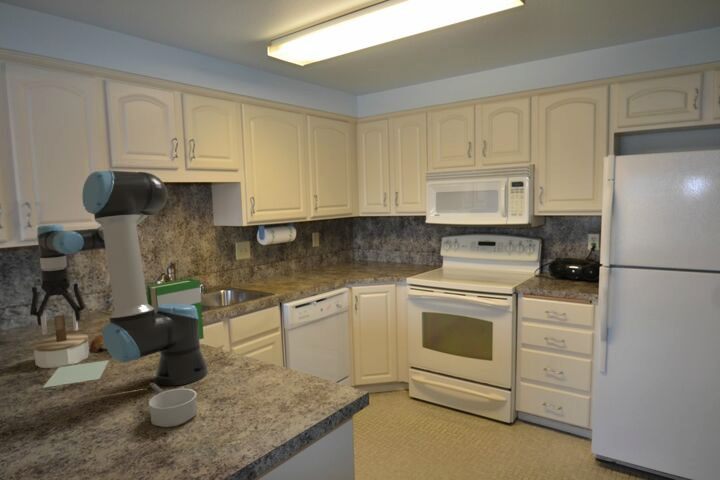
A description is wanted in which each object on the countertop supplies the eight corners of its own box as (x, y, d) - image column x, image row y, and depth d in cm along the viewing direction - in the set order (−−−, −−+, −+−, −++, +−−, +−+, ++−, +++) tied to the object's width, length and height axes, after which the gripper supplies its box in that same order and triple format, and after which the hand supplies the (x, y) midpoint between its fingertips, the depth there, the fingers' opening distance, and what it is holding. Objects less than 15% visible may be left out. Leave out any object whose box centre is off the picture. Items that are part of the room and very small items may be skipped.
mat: (99, 380, 140) (99, 378, 140) (42, 389, 134) (42, 387, 134) (109, 361, 157) (108, 360, 156) (59, 368, 151) (59, 367, 151)
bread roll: (123, 355, 174) (127, 334, 177) (107, 352, 164) (111, 330, 167) (100, 355, 175) (104, 334, 178) (82, 352, 165) (87, 331, 168)
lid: (82, 347, 153) (80, 318, 152) (27, 354, 148) (24, 325, 147) (92, 334, 168) (89, 308, 167) (42, 340, 163) (39, 313, 162)
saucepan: (173, 395, 127) (172, 376, 127) (206, 417, 113) (204, 396, 113) (130, 409, 119) (129, 389, 119) (160, 436, 105) (158, 413, 105)
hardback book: (161, 350, 167) (156, 287, 164) (151, 347, 171) (146, 285, 169) (203, 338, 180) (199, 279, 178) (193, 335, 185) (189, 278, 183)
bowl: (83, 365, 154) (81, 346, 154) (31, 372, 149) (29, 353, 148) (92, 351, 168) (90, 335, 168) (45, 358, 163) (43, 340, 162)
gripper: (91, 264, 163) (97, 324, 165) (21, 270, 155) (27, 333, 157) (87, 267, 156) (93, 330, 158) (13, 273, 148) (20, 339, 150)
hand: (60, 331), depth 157 cm, fingers open, 9 cm apart
